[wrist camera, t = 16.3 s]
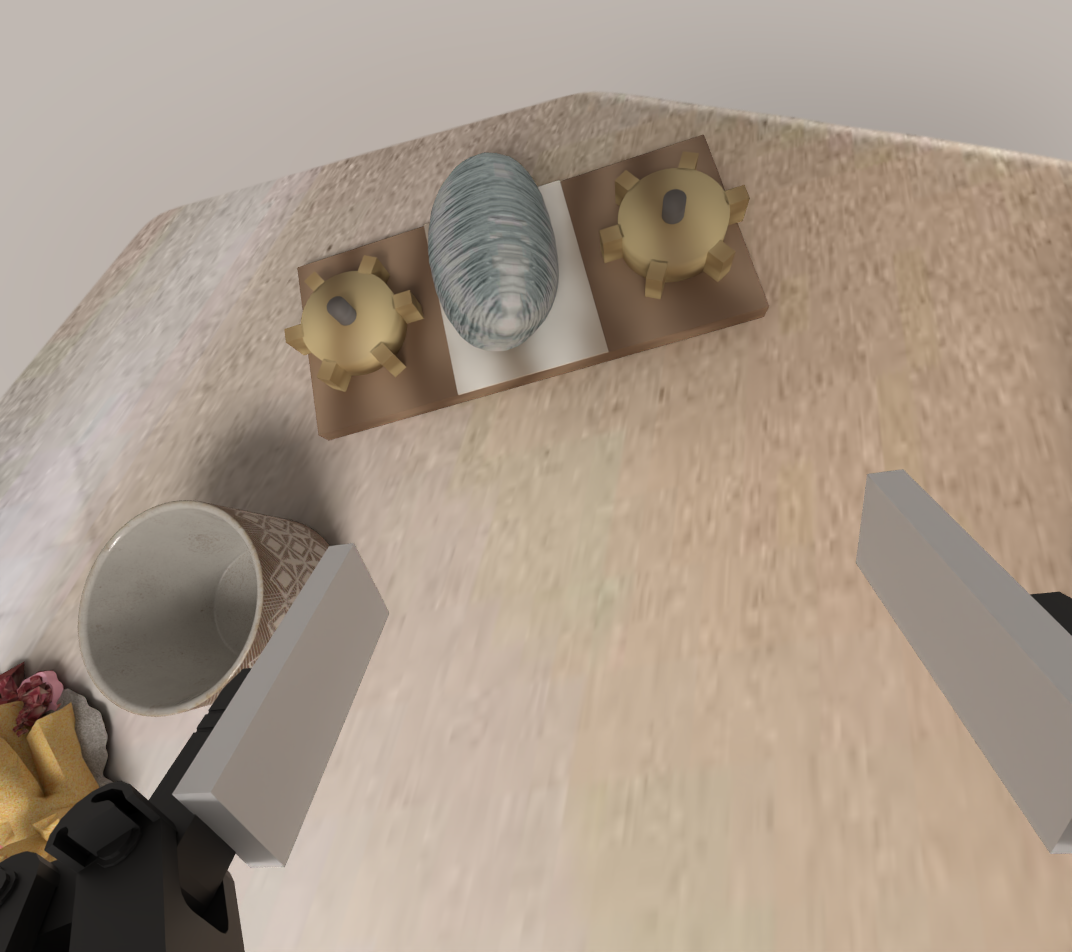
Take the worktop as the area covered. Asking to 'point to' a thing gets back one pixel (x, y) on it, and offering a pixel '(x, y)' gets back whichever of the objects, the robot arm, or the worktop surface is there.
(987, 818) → the worktop surface
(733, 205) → the gear board
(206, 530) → the planter
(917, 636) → the robot arm
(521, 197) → the grey streaked egg
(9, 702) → the candy landscape model
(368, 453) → the worktop surface
